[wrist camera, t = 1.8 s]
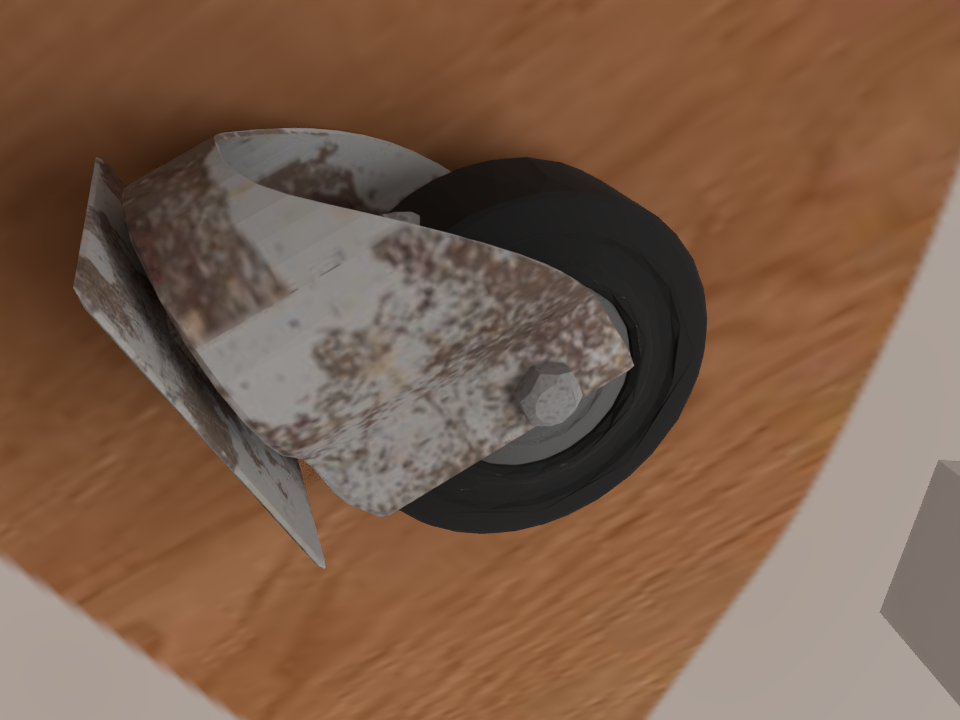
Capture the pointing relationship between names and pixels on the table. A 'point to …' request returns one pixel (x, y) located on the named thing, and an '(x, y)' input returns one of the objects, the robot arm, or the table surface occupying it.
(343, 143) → the caster wheel
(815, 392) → the table surface
